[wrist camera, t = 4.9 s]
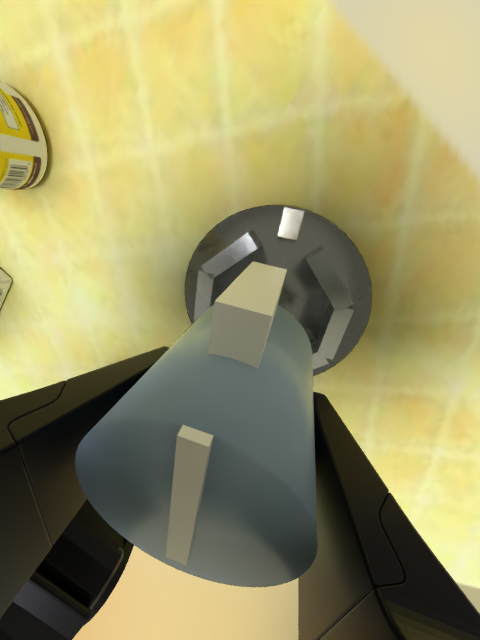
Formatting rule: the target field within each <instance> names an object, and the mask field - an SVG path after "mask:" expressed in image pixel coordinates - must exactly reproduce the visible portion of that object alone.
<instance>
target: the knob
mask: <svg viewBox="0 0 480 640" xmlns="http://www.w3.org/2000/svg"><path fill="white" fill-rule="evenodd" d="M286 272H287V269H283V268H279V267H274V266H270V265H266V264H262V263H258V262H254V261H253V262H252V263H251V264H250V265H249V266H248V267H247V268H246V269H245V270H244V271H243V272H242V273H241V274H240V275H239V276H238V277H237V278H236V279H235V280H234V281H233V283H232V284H231V285H230V286H229V287H228V288H227V289H226V290H225V291H224V292H223V293H222V294H221V295H220V296H219V297H218V298H217V299H216V300H215V303H214V305H212V306H211V307H210V308H208V309H207V310H206V311H205V312H204V313H203V314H202V315H201V316H200V317H199V318H198V319H197V320H196V321H195V322H194V323H193V324H192V325H191V326H190V327H189V328H188V329H187V330H186V332H185V333H184V334H183V335H182V336H181V337H180V338H179V339H178V340H177V341H176V342H175V343H174V344H173V345H172V346H171V347H170V348H169V349H168V350H167V351H166V352H165V353H164V354H163V355H162V356H161V358H160V359H159V360H158V361H157V362H156V363H155V364H154V365H153V366H152V367H151V368H150V369H149V370H148V371H147V372H146V373H145V374H144V375H143V376H142V377H141V378H140V379H139V380H138V381H137V383H136V384H135V385H134V386H133V387H132V388H131V389H130V390H129V391H128V392H127V393H126V394H125V395H124V396H123V397H122V398H121V399H120V400H119V401H118V402H117V403H116V404H115V405H114V406H113V407H112V409H111V410H110V411H109V412H108V413H107V414H106V415H105V416H104V417H103V418H102V419H101V420H100V421H99V422H98V423H97V424H96V425H95V426H94V427H93V428H92V429H91V430H90V431H89V432H88V433H87V435H86V436H85V437H84V438H83V439H82V441H81V442H80V444H79V445H78V448H77V451H76V456H75V468H76V474H77V477H78V481H79V483H80V485H81V488H82V490H83V492H84V493H85V495H86V497H87V499H88V500H89V502H90V503H91V504H92V506H93V507H94V508H95V510H96V511H97V512H98V513H99V514H100V516H101V517H102V518H103V519H104V520H105V521H106V522H107V523H108V524H109V525H110V526H111V527H112V528H113V529H115V530H116V531H117V532H118V533H119V534H120V535H122V536H123V537H124V538H125V539H127V540H128V541H129V542H131V543H132V544H133V545H135V546H137V547H138V548H139V549H141V550H142V551H144V552H146V553H147V554H149V555H151V556H152V557H154V558H156V559H158V560H160V561H161V562H164V563H165V564H167V565H170V566H172V567H174V568H176V569H178V570H181V571H183V572H186V573H188V574H191V575H194V576H197V577H200V578H202V579H206V580H210V581H213V582H218V583H223V584H228V585H234V586H241V587H267V586H276V585H279V584H283V583H287V582H290V581H292V580H294V579H297V578H298V577H300V576H301V575H302V574H304V573H305V572H306V571H307V570H308V569H309V568H310V567H311V565H312V563H313V561H314V560H315V558H316V553H317V549H318V542H317V506H316V471H315V436H314V400H313V365H312V348H311V343H310V341H309V338H308V335H307V334H306V332H305V330H304V328H303V327H302V325H301V324H300V323H299V322H298V320H297V319H296V318H295V317H294V316H293V315H291V314H290V313H289V312H288V311H287V310H285V309H283V308H282V307H280V306H279V305H278V301H279V298H280V294H281V290H282V287H283V283H284V279H285V275H286Z"/></svg>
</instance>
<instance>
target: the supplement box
mask: <svg viewBox="0 0 480 640" xmlns="http://www.w3.org/2000/svg"><path fill="white" fill-rule="evenodd" d="M11 283H12V279H11V278H10V277H9V276H8V275H7V274H6V273H5V272H3V271H2V270H1V269H0V308H1V306H2V303H3V301H4V299H5V296H6V294H7V292H8V289H9V287H10V285H11Z"/></svg>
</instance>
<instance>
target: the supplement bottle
mask: <svg viewBox="0 0 480 640" xmlns="http://www.w3.org/2000/svg"><path fill="white" fill-rule="evenodd" d="M46 167H47V146H46V141H45V137H44V134H43V131H42V128H41V126H40V123H39V121H38V119H37V117H36V115H35V114H34V112H33V110H32V109H31V108H30V106H29V105H28V103H27V102H26V101H25V100H24V99H23V98H22V97H21V96H20V95H19V94H18V93H17V92H16V91H15V90H14V89H12V88H11V87H10V86H8V85H7V84H5V83H3V82H1V81H0V189H15V190H18V189H28V188H31V187H33V186H35V185H36V184H38V183H39V182H40V180H41V179H42V177H43V176H44V173H45V170H46Z"/></svg>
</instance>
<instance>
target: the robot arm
mask: <svg viewBox="0 0 480 640" xmlns="http://www.w3.org/2000/svg"><path fill="white" fill-rule="evenodd" d="M168 349H169V347H166V346H164V347H161V348H158V349H155V350H152V351H149V352H146V353H144V354H141V355H138V356H135V357H132V358H129V359H126V360H123V361H120V362H117V363H114V364H111V365H108V366H106V367H103V368H100V369H97V370H94V371H91V372H88V373H85V374H82V375H79V376H76V377H73V378H70V379H68V380H67V381H62V382H59V383H56V384H53V385H50V386H47V387H44V388H41V389H37V390H34V391H31V392H28V393H24V394H21V395H18V396H14V397H11V398H7V399H4V400H0V640H72V639H73V638H74V636H75V635H76V634H77V633H78V631H79V630H80V629H81V628H82V627H83V625H85V624H86V623H87V622H89V621H90V620H91V619H92V618H93V617H94V616H95V614H96V613H97V612H98V611H99V610H100V608H101V607H102V606H103V604H104V603H105V602H106V600H107V599H108V597H109V596H110V594H111V593H112V591H113V589H114V588H115V586H116V584H117V582H118V581H119V579H120V577H121V575H122V573H123V571H124V569H125V567H126V564H127V562H128V559H129V556H130V554H131V551H132V549H133V546H134V545H133V544H132V543H131V542H129V541H128V540H127V539H125V538H124V537H123V536H122V535H120V534H119V533H118V532H117V531H116V530H115V529H113V528H112V527H111V526H110V525H109V524H108V523H107V522H106V521H105V520H104V519H103V518H102V517H101V516H100V514H99V513H98V512H97V511H96V510H95V508H94V507H93V506H92V504H91V503H90V502H89V500H88V499H87V497H86V495H85V493H84V492H83V490H82V488H81V485H80V483H79V481H78V477H77V474H76V468H75V456H76V451H77V448H78V445H79V444H80V442H81V441H82V439H83V438H84V437H85V436H86V435H87V433H88V432H89V431H90V430H91V429H92V428H93V427H94V426H95V425H96V424H97V423H98V422H99V421H100V420H101V419H102V418H103V417H104V416H105V415H106V414H107V413H108V412H109V411H110V410H111V409H112V407H113V406H114V405H115V404H116V403H117V402H118V401H119V400H120V399H121V398H122V397H123V396H124V395H125V394H126V393H127V392H128V391H129V390H130V389H131V388H132V387H133V386H134V385H135V384H136V383H137V381H138V380H139V379H140V378H141V377H142V376H143V375H144V374H145V373H146V372H147V371H148V370H149V369H150V368H151V367H152V366H153V365H154V364H155V363H156V362H157V361H158V360H159V359H160V358H161V356H162V355H163V354H164V353H165V352H166V351H167V350H168ZM313 400H314V436H315V471H316V506H317V542H318V549H317V553H316V558H315V560H314V561H313V563H312V565H311V567H310V568H309V569H308V570H307V571H306V572H305V573H304V574H302V575H301V576H300V577H299V640H480V614H479V612H478V611H477V610H476V608H475V607H474V606H473V605H472V603H471V602H470V601H469V599H468V598H467V597H466V595H465V594H464V593H463V591H462V590H461V589H460V588H459V586H458V585H457V584H456V582H455V581H454V580H453V578H452V577H451V576H450V574H449V573H448V572H447V571H446V569H445V568H444V567H443V565H442V564H441V563H440V561H439V560H438V559H437V557H436V556H435V555H434V553H433V552H432V551H431V549H430V548H429V547H428V545H427V544H426V543H425V541H424V540H423V539H422V537H421V536H420V535H419V533H418V532H417V531H416V529H415V528H414V526H413V525H412V523H411V522H410V520H409V519H408V518H407V516H406V515H405V513H404V512H403V510H402V509H401V508H400V506H399V505H398V503H397V502H396V500H395V499H394V497H393V496H392V494H391V493H388V492H389V490H388V488H387V487H386V485H385V484H384V482H383V481H382V479H381V478H380V476H379V475H378V473H377V472H376V470H375V469H374V467H373V466H372V464H371V463H370V461H369V460H368V458H367V457H366V455H365V454H364V452H363V451H362V449H361V448H360V446H359V445H358V443H357V442H356V440H355V439H354V437H353V436H352V434H351V433H350V431H349V430H348V428H347V427H346V425H345V424H344V422H343V421H342V419H341V418H340V416H339V415H338V414H337V412H336V411H335V409H334V408H333V406H332V405H331V403H330V402H329V400H328V399H327V397H326V396H325V395H324V394H320V393H317V392H313Z"/></svg>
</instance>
